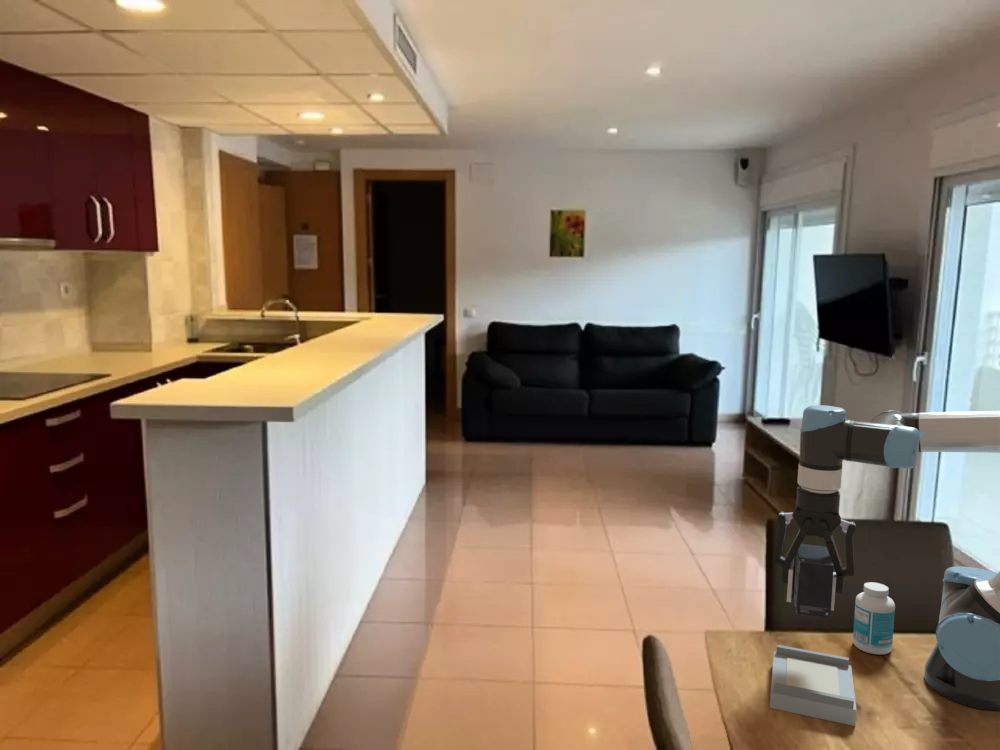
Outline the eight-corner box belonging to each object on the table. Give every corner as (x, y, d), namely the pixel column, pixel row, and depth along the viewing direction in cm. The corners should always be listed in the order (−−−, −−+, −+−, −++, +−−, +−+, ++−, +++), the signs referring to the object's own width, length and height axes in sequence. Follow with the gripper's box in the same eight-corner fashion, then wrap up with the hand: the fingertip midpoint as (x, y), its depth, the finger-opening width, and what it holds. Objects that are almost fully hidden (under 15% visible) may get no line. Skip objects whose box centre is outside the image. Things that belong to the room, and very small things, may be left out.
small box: (833, 619, 136) (835, 564, 134) (795, 615, 138) (797, 561, 136) (825, 595, 146) (827, 545, 144) (790, 592, 148) (791, 542, 146)
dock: (849, 680, 142) (851, 658, 142) (855, 726, 128) (857, 702, 127) (773, 665, 148) (774, 644, 147) (769, 707, 133) (771, 684, 132)
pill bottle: (893, 645, 156) (898, 584, 154) (890, 660, 150) (895, 597, 148) (854, 635, 160) (859, 576, 158) (849, 649, 154) (854, 588, 152)
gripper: (877, 489, 138) (867, 606, 141) (765, 476, 146) (758, 586, 149) (878, 500, 131) (867, 622, 134) (760, 485, 139) (754, 600, 142)
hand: (810, 603), depth 142 cm, fingers closed on small box, 7 cm apart
